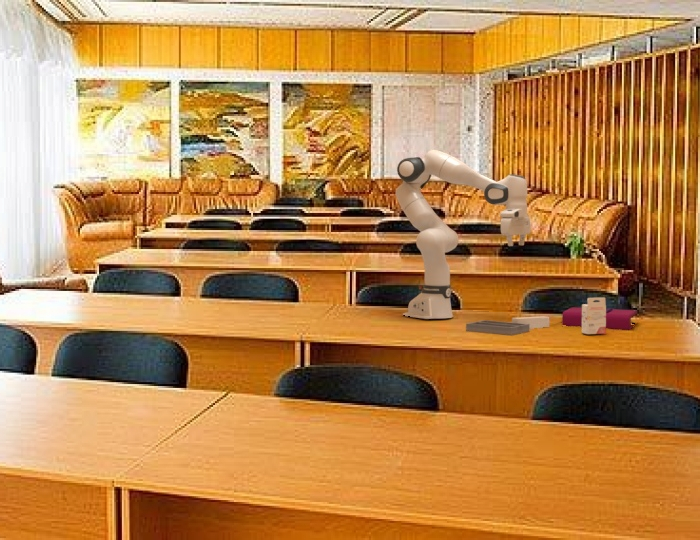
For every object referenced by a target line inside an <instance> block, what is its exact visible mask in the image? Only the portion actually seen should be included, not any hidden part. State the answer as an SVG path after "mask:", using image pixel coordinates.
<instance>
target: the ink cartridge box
mask: <svg viewBox="0 0 700 540" xmlns="http://www.w3.org/2000/svg"><path fill="white" fill-rule="evenodd" d="M586 302H587V304H586V303H585V304H584V303H583V304H581V307H582V327H581V333H582V334H585V335H600V334H601V335H605V334H606V331H607V329H606V309H607V305H606V304H607V303H606V297H587V301H586Z"/></svg>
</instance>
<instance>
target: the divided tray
mask: <svg viewBox="0 0 700 540" xmlns="http://www.w3.org/2000/svg"><path fill="white" fill-rule="evenodd" d="M529 328H530V324H522V323H512V322H509V321H508V322H507V321H497V320H486V319H483V320H478V321H473V322H469V323H465V332H473V333H475V332H476V333H485V334H496V335H503V336H504V335H505V336H506V335H507V336H514V335H520V334H524V333H528V332H529V333H530V329H529Z"/></svg>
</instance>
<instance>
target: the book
mask: <svg viewBox="0 0 700 540" xmlns="http://www.w3.org/2000/svg"><path fill="white" fill-rule="evenodd" d="M637 314H638V310H636V309H616V308H606V328H608V329H607V330H619V329H622V331H623V330H624V331H631V330H632V329H633V328H634V327H635V326H634V325H631V323H633V322H632V318H633V317H635V316H636V315H637ZM561 317H562V319H561V321H562V322H561V323H562V324H561V326H562V325H566V326H568V327H577V326H580V327H581V328H582V306H577V307H576V306H575V307H574V306H573V307H572V306H571V307H570V308H568V309H566V310H564V311H563V312H562V316H561ZM633 326H634V327H633ZM632 327H633V328H632ZM631 328H632V329H631Z"/></svg>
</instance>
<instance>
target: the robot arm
mask: <svg viewBox="0 0 700 540" xmlns="http://www.w3.org/2000/svg"><path fill="white" fill-rule="evenodd" d="M396 172H397V174H398V177H399V178H400V179H401V180H402V183H401V184H400V185H398V186H397V188H396V189H395V197H396V199H397V203H398V204H399V206H400V208H401V210H402V211H403V214H405V216H406V217H407V219H408V220H409V222H410V224H411V225H412V226H413V228H415V229H417V230H418V231H419V233H418V235H417V236H416V242H415V243H416V248H417V249H418V250H419V251H420V253H421V257H422V261H423V266H424V268H423V269H424V284H423V285H421V286H419V290H421V291H420V293H419V294H418V295H417V296H415V297H414V298H413V299H411V300H410V301H409V303H408V307H407V312H404V313H403V312H402V316H403V315H405V316H404V317H408V316H410V318H418V319H424V320H429V319H431V320H432V319H450V318H454V315H453V310H452V304H451V295H452V291H451V290H452V285H451V267H450V264H449V263H448V261H447V258H446V253H449V252H451V251H453V250H455V249H456V248H457V246H458V244H459V236H458V233H457V232H456V231H455V230H453V229H452V228H450V226H448V225H447V223H445V221H444V220H443V219H441V218H440V216H439V215H438V214H436V212H435V211H434V210H433V208H432V207H431V205H430V204H429V202H428V201H427V199H426V198H425V197H424V195H423V193H422V191H421V190H422V189H423V188H424V187H425V186H426V184H428V183H429V181H430V180H431V178H432V176H435V177H437V178H439V179H441V180H443V181H445V182H447V183H450V184H452V185H453V184H454V185H462V186H469V187H473V188H476V189H478V190H480V191H481V192H483V196H484V199H485V201H486V202H487V203H488V204H490V205H493V206H503V207H504V206H505V208H504V210H502V211H500V213H499V214H500V215H499V216H500V218H501V220H500V233H501V236H505V237H506V238H505V239H506V240H507V246H508V247H513V246H514V241H513V236H518V235H519V240H518V246H524V245H525V239H526V237H527V236H526V235H530V234H531V232H532V227H531V225H532V223H531V218H530V216H529V214H528V203H527V198H528V183H527V179H526V178H525V176H523V175H519V174H513V173H512V174H508V175H507V176H506V177H504V178H503V179H500V180H498V181H497V180H495V179H492V178H490V177H488V176H486V175H484V174H482V173H480V172H479V171H476V170H475V169H473V168H472V167H470V166H468V165H467V164H466V163H464V162H463V161H461V160H460V159H459V158H456V157H454V156H453V155H451V154H449V153H446V152H443V151H440V150H439V149H438V150H437V149H430V150H428V151H427V152H426V154H425V155H424V156H423V157H422V158H421V157H419V156H416V157H407V158H403V159H401V161H399V163H398V164H397V168H396Z"/></svg>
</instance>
